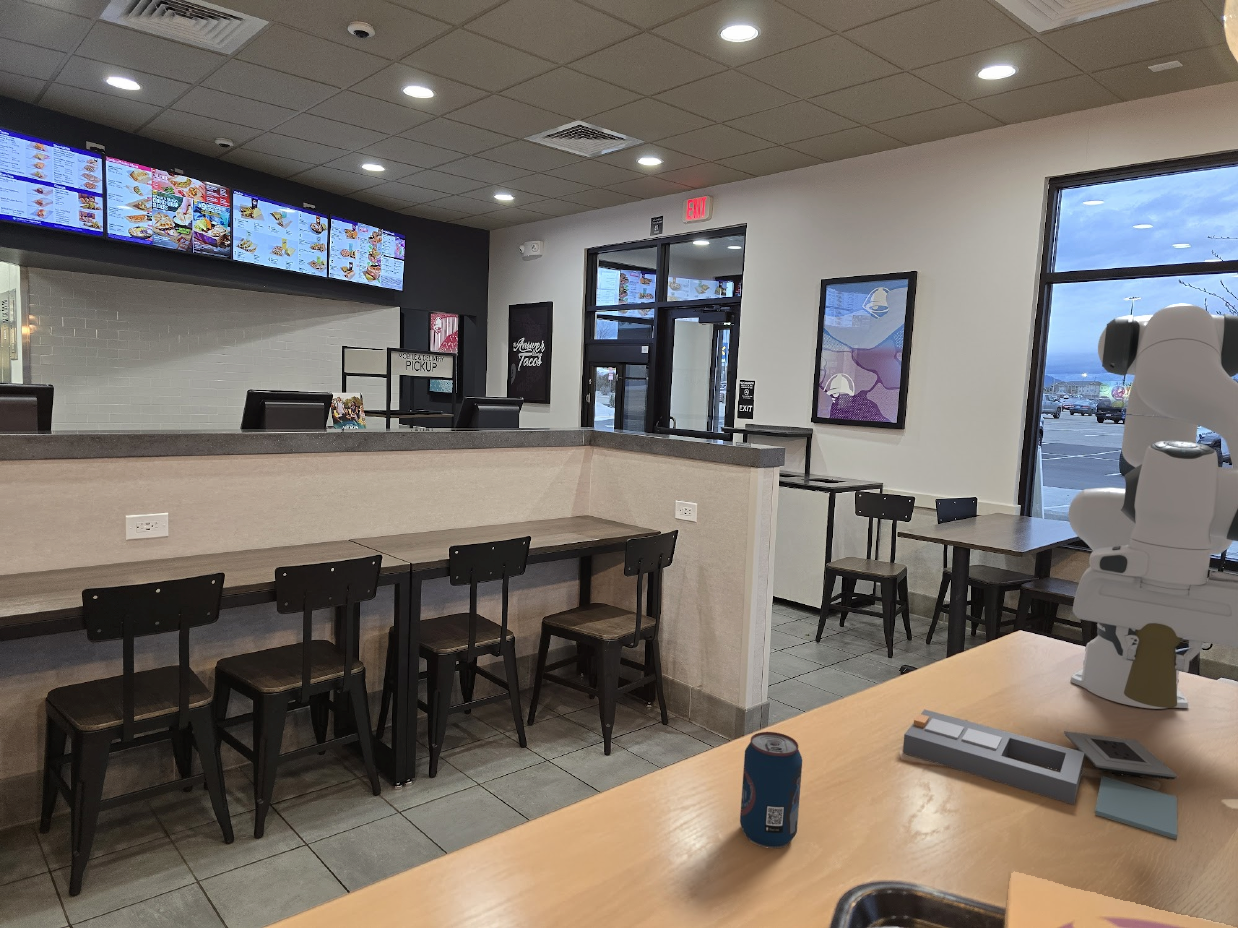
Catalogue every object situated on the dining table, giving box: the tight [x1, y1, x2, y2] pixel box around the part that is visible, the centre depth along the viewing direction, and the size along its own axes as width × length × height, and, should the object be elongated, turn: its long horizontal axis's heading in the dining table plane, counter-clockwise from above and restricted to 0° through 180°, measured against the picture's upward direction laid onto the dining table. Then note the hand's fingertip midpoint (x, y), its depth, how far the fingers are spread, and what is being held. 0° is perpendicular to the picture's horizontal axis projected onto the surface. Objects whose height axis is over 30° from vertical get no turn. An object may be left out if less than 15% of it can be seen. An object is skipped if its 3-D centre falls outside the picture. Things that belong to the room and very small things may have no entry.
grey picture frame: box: [1063, 730, 1178, 780], centre depth 119 cm, size 13×10×2 cm
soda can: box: [739, 731, 803, 849], centre depth 96 cm, size 7×7×12 cm
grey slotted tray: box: [902, 709, 1085, 806], centre depth 119 cm, size 12×23×4 cm, turn 55°
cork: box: [1124, 623, 1183, 709], centre depth 106 cm, size 6×6×11 cm
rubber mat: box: [1094, 775, 1178, 840], centre depth 108 cm, size 12×9×1 cm
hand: (1154, 664), depth 106 cm, fingers closed on cork, 4 cm apart
